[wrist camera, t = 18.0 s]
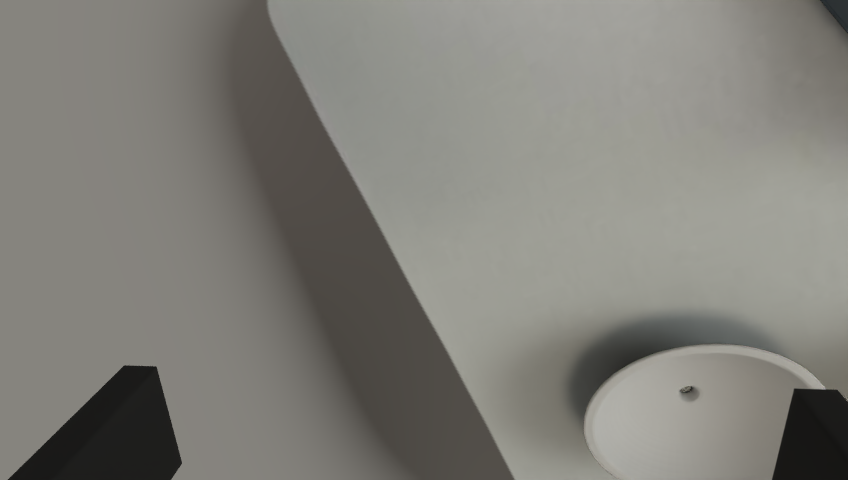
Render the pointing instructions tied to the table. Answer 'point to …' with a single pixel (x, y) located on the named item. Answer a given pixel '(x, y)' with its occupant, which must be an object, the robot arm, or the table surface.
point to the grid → (838, 11)
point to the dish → (695, 414)
